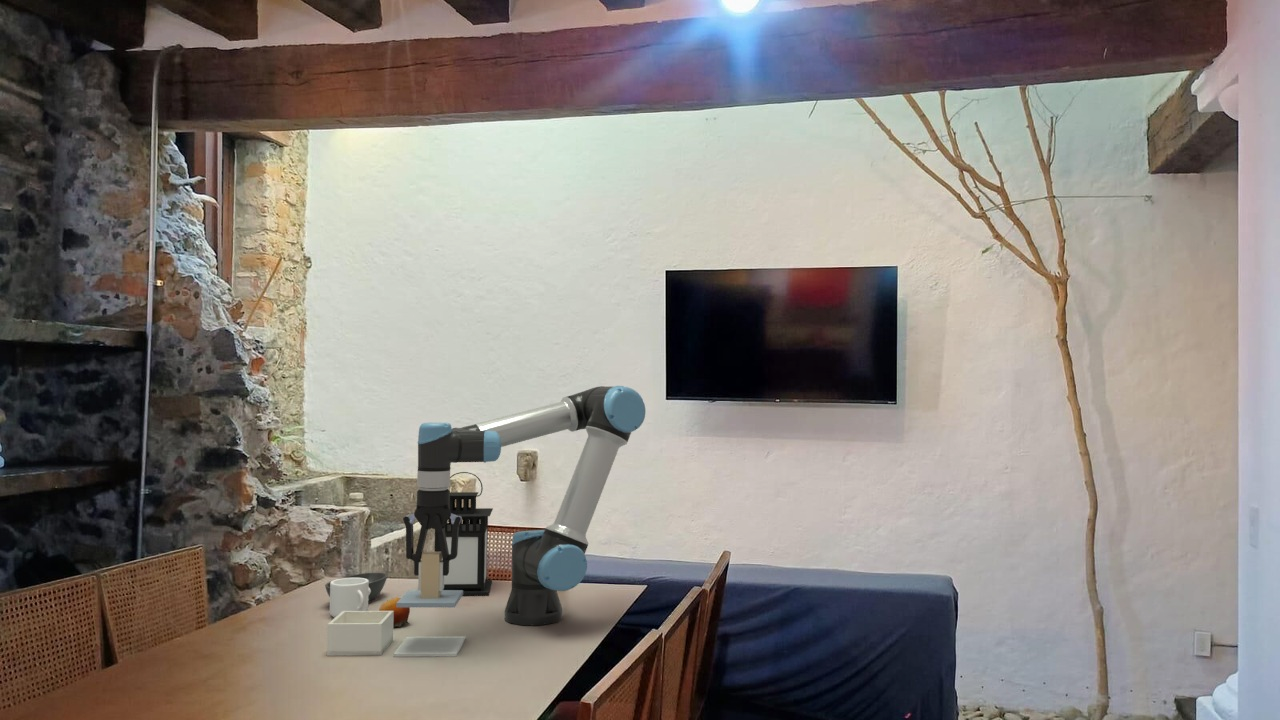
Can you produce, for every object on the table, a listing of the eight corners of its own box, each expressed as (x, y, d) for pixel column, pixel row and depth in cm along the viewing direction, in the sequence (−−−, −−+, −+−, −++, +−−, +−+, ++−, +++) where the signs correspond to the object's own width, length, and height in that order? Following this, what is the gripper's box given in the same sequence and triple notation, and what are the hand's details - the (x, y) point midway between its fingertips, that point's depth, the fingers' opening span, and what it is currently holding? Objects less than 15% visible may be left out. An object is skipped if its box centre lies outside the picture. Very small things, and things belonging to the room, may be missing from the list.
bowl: (398, 595, 256) (398, 574, 256) (349, 613, 235) (349, 589, 236) (363, 592, 260) (363, 571, 260) (312, 609, 239) (312, 586, 240)
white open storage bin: (393, 640, 210) (393, 610, 210) (380, 655, 198) (381, 623, 198) (342, 640, 209) (342, 610, 209) (326, 655, 197) (327, 624, 197)
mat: (465, 638, 212) (465, 636, 212) (456, 656, 198) (456, 653, 198) (406, 639, 211) (406, 636, 211) (393, 656, 197) (393, 653, 197)
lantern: (428, 596, 255) (430, 475, 256) (435, 584, 272) (437, 470, 273) (488, 596, 256) (490, 475, 258) (491, 583, 274) (493, 470, 275)
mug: (381, 617, 232) (382, 582, 232) (345, 624, 224) (346, 588, 225) (358, 609, 240) (359, 575, 240) (322, 615, 232) (323, 581, 233)
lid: (463, 594, 211) (464, 548, 212) (454, 607, 198) (455, 558, 199) (408, 594, 211) (409, 548, 211) (396, 607, 198) (397, 558, 198)
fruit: (407, 624, 219) (393, 596, 220) (382, 639, 220) (367, 611, 221) (422, 616, 226) (407, 589, 228) (397, 631, 228) (383, 603, 229)
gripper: (472, 487, 210) (470, 586, 209) (400, 486, 209) (397, 585, 208) (468, 490, 202) (465, 593, 201) (392, 490, 202) (390, 593, 201)
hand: (431, 589), depth 205 cm, fingers closed on lid, 4 cm apart
